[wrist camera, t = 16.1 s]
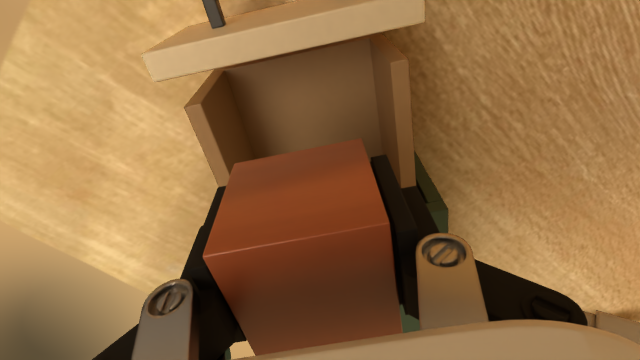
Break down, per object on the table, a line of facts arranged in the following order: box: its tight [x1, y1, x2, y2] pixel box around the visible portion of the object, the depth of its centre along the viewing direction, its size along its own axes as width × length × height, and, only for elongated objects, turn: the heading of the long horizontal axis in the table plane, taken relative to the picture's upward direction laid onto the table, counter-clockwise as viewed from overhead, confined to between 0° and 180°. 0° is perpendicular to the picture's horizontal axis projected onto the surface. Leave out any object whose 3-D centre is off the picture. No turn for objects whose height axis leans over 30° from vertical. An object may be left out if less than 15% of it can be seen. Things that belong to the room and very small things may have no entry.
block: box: [203, 138, 403, 356], centre depth 11 cm, size 4×4×4 cm
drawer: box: [141, 0, 425, 188], centre depth 18 cm, size 20×11×7 cm, turn 11°
